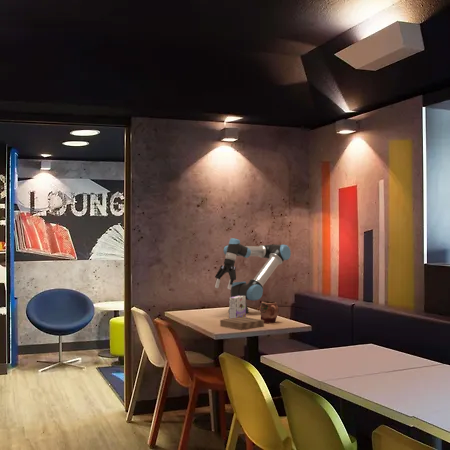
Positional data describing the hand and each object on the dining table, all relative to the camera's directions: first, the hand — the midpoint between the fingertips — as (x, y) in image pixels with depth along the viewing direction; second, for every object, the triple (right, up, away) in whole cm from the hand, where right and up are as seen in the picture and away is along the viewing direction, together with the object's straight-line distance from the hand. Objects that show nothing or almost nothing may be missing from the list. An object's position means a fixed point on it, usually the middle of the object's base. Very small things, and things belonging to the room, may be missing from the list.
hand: (222, 288), depth 425 cm
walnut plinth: (+13, -21, -35) cm, 42 cm away
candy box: (+10, -21, -10) cm, 26 cm away
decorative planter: (+32, -21, -20) cm, 43 cm away
